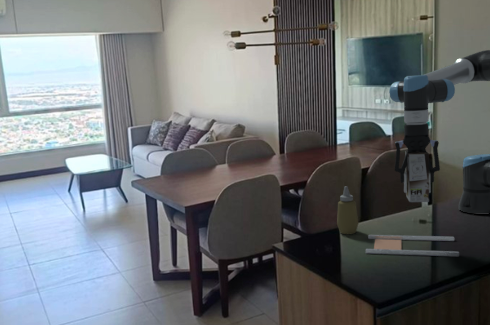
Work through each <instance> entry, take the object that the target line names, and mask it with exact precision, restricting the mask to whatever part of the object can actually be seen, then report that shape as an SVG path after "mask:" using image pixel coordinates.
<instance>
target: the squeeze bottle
mask: <svg viewBox="0 0 490 325" xmlns="http://www.w3.org/2000/svg"><path fill="white" fill-rule="evenodd" d="M339 198H340V201H338V202H337V216H336V217H337V218H336V219H337V220H336V225H337V227H338V230H339V233H341V234H343V235H352V234H353V235H354V234H355V233H357V229H358V226H359V218H358V211H357V210H358V209H357V203H356V201H354V196H353V195H352V194H350V191H349V187H348V185H347V186H344V187H343V194H341V195H340V197H339Z"/></svg>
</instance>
